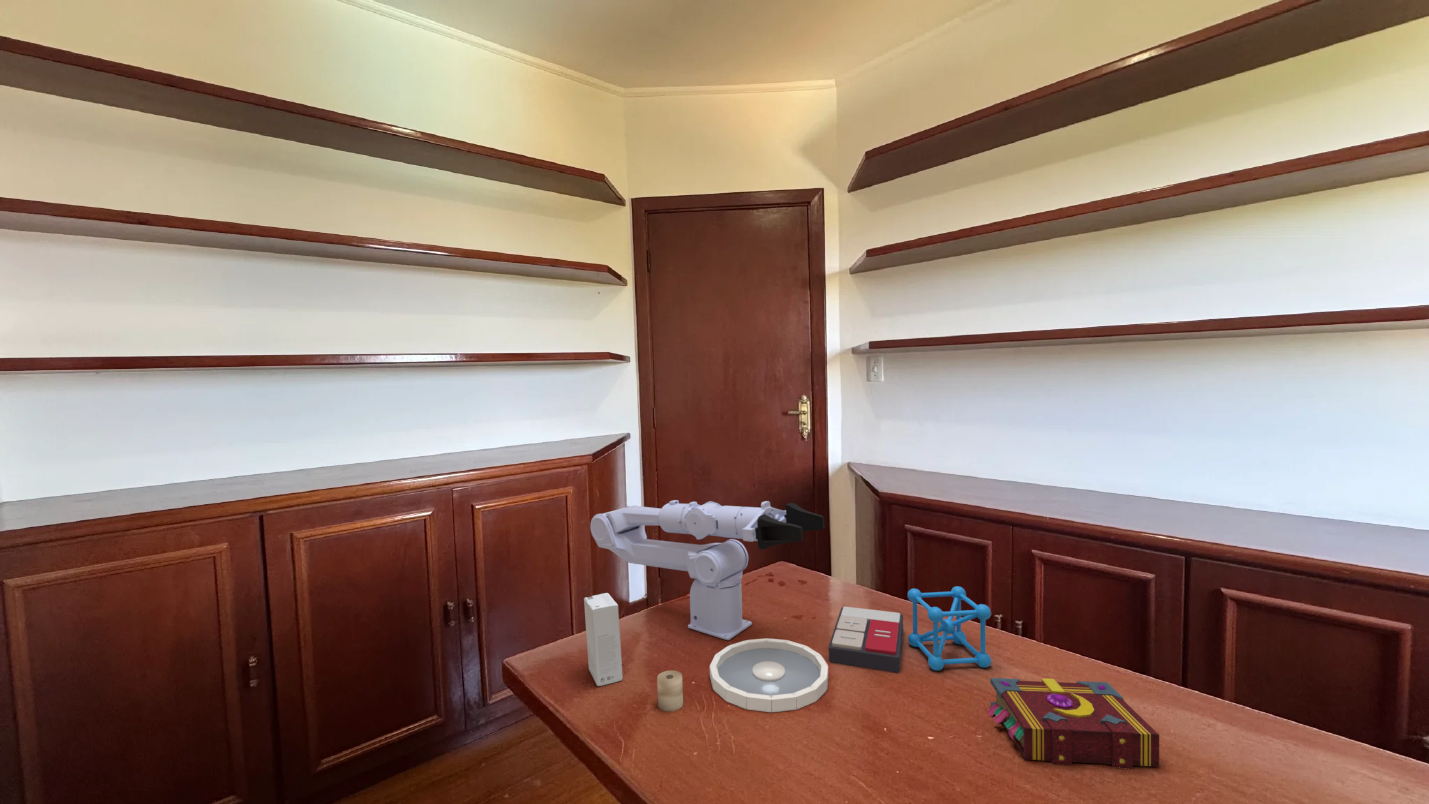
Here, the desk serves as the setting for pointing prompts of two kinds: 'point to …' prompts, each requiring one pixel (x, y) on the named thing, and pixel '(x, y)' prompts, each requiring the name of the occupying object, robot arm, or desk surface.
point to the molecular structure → (949, 628)
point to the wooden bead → (670, 690)
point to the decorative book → (1073, 723)
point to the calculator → (867, 639)
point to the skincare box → (603, 639)
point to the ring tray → (769, 675)
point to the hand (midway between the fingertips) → (813, 528)
